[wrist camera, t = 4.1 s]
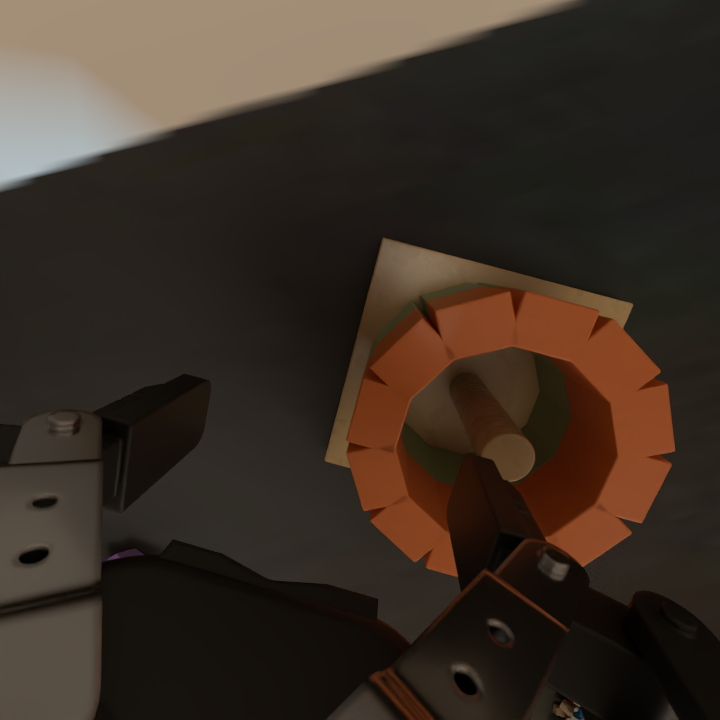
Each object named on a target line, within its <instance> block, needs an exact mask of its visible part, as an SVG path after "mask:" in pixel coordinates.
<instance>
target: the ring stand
mask: <svg viewBox="0 0 720 720" xmlns="http://www.w3.org/2000/svg"><path fill="white" fill-rule="evenodd" d="M463 283H472V284H477V283H485V284H491V285H497V286H502V287H508V288H514V289H520V290H525V291H530V292H534V293H537V294H541V295H545V296H549V297H552V298H556V299H560V300H564V301H567V302H571V303H575V304H579V305H582V306H586V307H590V308H594V309H597V310H599V311H600V312H599V316H604V317H608V318H612V319H614V320H615V321H616V322H617V323H618V324H619V325H620V326H621V327H622V329H623V327H624V325H625V323H626V321H627V318H628V316H629V314H630V311H631V309H632V307H633V304H632V303H629V302H625V301H621V300H617V299H614V298H610V297H606V296H602V295H599V294H595V293H591V292H587V291H583V290H580V289H576V288H572V287H568V286H565V285H561V284H557V283H553V282H550V281H546V280H542V279H538V278H535V277H531V276H527V275H523V274H519V273H516V272H512V271H508V270H504V269H501V268H497V267H493V266H489V265H486V264H482V263H478V262H474V261H471V260H467V259H463V258H459V257H455V256H452V255H448V254H444V253H440V252H437V251H433V250H429V249H425V248H422V247H418V246H414V245H410V244H407V243H403V242H399V241H395V240H391V239H388V238H382V241H381V245H380V249H379V252H378V256H377V260H376V264H375V268H374V272H373V275H372V279H371V283H370V287H369V291H368V295H367V298H366V302H365V306H364V310H363V314H362V318H361V321H360V325H359V329H358V333H357V337H356V341H355V344H354V348H353V352H352V356H351V360H350V364H349V368H348V371H347V375H346V379H345V383H344V387H343V391H342V394H341V398H340V402H339V406H338V410H337V414H336V417H335V421H334V425H333V429H332V433H331V437H330V440H329V444H328V448H327V452H326V456H325V461H326V462H330V463H333V464H337V465H341V466H344V467H348V468H350V465H349V462H348V458H347V455H346V452H347V449H348V445H349V442H347V441H346V438H347V434H348V430H349V427H350V423H351V419H352V416H353V412H354V408H355V405H356V401H357V397H358V394H359V390H360V386H361V383H362V379H363V375H364V372H365V368H366V365H367V361H368V358H369V354H370V350H371V347H372V343H373V341H377V337H378V333H379V331H380V330H381V329H383V328H384V327H385V326H386V325H387V324H388V323H389V322H390V321H391V320H392V319H393V318H394V317H395V316H396V315H397V314H398V313H399V312H400V311H401V310H402V309H403V308H404V307H405V306H406V305H407V304H408V303H409V302H410V301H414V302H415V303H416V304H417V305H418V306H419V308H420V309H421V310H422V311H423V306H422V302H421V298H420V295H422V294H426V293H430V292H433V291H437V290H441V289H445V288H448V287H452V286H456V285H459V284H463ZM423 312H424V311H423ZM539 393H540V386H539V381H538V376H537V370H536V365H535V359H534V355H533V354H532V353H531V352H530V351H528V350H524V349H520V348H517V347H513V346H512V347H508V348H504V349H500V350H496V351H492V352H488V353H483V354H479V355H475V356H471V357H467V358H463V359H459V360H454V361H453V362H452V363H451V364H450V365H448V366H447V367H446V368H445V369H444V370H443V371H442V372H441V373H440V374H438V375H437V376H436V377H435V378H434V379H433V380H432V381H431V382H430V383H428V384H427V385H426V386H425V387H424V388H423V389H422V390H421V391H420V392H419V393H417V394H416V395H415V396H414V397H413V398H412V399H411V402H410V405H409V408H408V411H407V415H406V418H405V421H404V422H405V423H406V424H407V425H408V426H409V427H410V428H411V429H413V430H414V431H415V432H416V433H417V434H418V435H419V436H420V437H421V438H422V439H423V440H424V441H425V442H426V443H427V444H428V445H430V446H433V447H437V448H440V449H444V450H448V451H451V452H455V453H459V454H462V455H463V454H467V453H473V452H475V453H476V455H478V456H481V457H485V458H488V459H492V460H493V461H494V462H495V464H496V466H497V468H498V470H499V472H500V474H501V476H502V478H503V479H504V480H507V481H509V482H513V481H517V480H519V479H521V478H523V477H525V476H526V475H527V474H528V473H529V472H530V471H531V469H532V467H533V465H534V462H535V451H534V448H533V446H532V444H531V443H530V442H529V440H528V439H527V438H526V436H525V435H524V434H523V433H522V431H521V429H522V428H523V427H524V426H525V425H527V423H528V420H529V418H530V415H531V413H532V410H533V408H534V405H535V403H536V400H537V398H538V395H539Z"/></svg>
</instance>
